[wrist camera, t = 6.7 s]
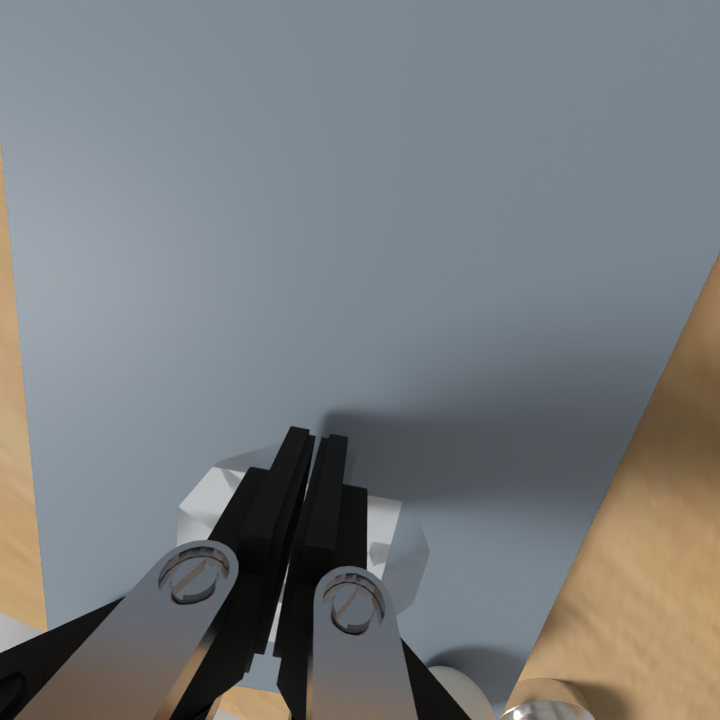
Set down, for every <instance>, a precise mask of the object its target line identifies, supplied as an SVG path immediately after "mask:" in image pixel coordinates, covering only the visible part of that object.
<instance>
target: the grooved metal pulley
mask: <svg viewBox="0 0 720 720" xmlns="http://www.w3.org/2000/svg"><path fill="white" fill-rule="evenodd" d="M499 720H595V719H594V717H593V714H592V712H591V710H590V708H589V706H588V704H587V702H586V700H585V698H584V696H583V695H582V694H581V692H580V691H579V690H577V689H576V688H575V687H573V686H572V685H570V684H568V683H565V682H563V681H559V680H555V679H548V678H533V679H526V680H522V681H518V682H517V683H516V685H515V687H514V689H513V691H512V693H511V695H510V698H509V700H508V702H507V704H506V706H505V708H504V710H503V712H502V715H501V717H500V719H499Z"/></svg>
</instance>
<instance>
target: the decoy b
mask: <svg viewBox="0 0 720 720" xmlns="http://www.w3.org/2000/svg"><path fill="white" fill-rule="evenodd" d="M428 669H429V671H430V672H431V673H432V674H433V675H434V676H435V677H436V679H437V680H438V681H439V682H440V683H441V684H442V686H443V687H444V688H445V689H446V690H447V691H448V693H449V694H450V695H451V696H452V697H453V698H454V700H455V701H456V702H457V703H458V704H459V705H460V707H461V708H462V709H463V710H464V711H465V712H466V714H467V715H468V716H469V717H470V718H471V719H472V720H497V719H496V716H495V714H494V712H493V709H492V707H491V705H490V703H489V701H488V700H487V698H486V696H485V695H484V693H483V692H482V691H481V689H480V688H479V687H478V686H477V685H476V684H475V683H474V681H473V680H471V679H470V678H469V677H468V676H466V675H465V674H464V673H462V672H460V671H458V670H456V669H454V668H451V667H446V666H434V667H430V668H428Z"/></svg>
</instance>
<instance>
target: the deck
mask: <svg viewBox="0 0 720 720" xmlns="http://www.w3.org/2000/svg"><path fill="white" fill-rule="evenodd" d="M0 144H1V155H2V165H3V175H4V185H5V196H6V206H7V216H8V227H9V237H10V247H11V257H12V268H13V278H14V288H15V298H16V309H17V319H18V329H19V339H20V350H21V360H22V370H23V381H24V391H25V401H26V411H27V422H28V432H29V442H30V452H31V463H32V473H33V483H34V493H35V504H36V514H37V524H38V534H39V545H40V555H41V565H42V576H43V586H44V596H45V606H46V617H47V627H48V631H50V630H52V629H54V628H56V627H59V626H61V625H63V624H65V623H67V622H70V621H72V620H74V619H76V618H78V617H81V616H83V615H85V614H87V613H89V612H92V611H94V610H96V609H98V608H100V607H103V606H105V605H107V604H109V603H111V602H114V601H116V600H118V599H120V598H122V597H124V596H127V594H128V593H129V592H130V591H131V590H132V589H133V588H134V587H135V586H136V585H137V583H138V582H139V581H140V580H141V579H142V578H143V577H144V576H145V575H146V574H147V572H148V571H149V570H150V569H151V568H152V567H153V566H154V565H155V564H156V563H157V562H158V560H160V559H161V558H162V557H163V556H164V555H165V554H167V553H168V552H169V551H171V550H172V549H174V548H176V547H178V546H180V545H182V544H185V543H188V542H192V541H197V540H207V539H208V537H209V535H210V534H211V532H212V530H213V528H214V527H215V525H216V523H217V522H218V520H219V518H220V516H221V515H222V513H223V511H224V510H225V508H226V506H227V504H228V503H229V501H230V499H231V498H232V496H233V494H234V492H235V491H236V489H237V487H238V486H239V484H240V482H241V481H242V479H243V477H244V475H245V474H246V472H247V470H248V469H249V468H250V467H251V466H252V467H257V468H263V469H268V470H270V468H271V466H272V464H273V462H274V460H275V457H276V455H277V453H278V451H279V449H280V447H281V445H282V443H283V441H284V439H285V437H286V434H287V432H288V430H289V428H290V426H295V427H300V428H305V429H310V432H309V435H314V436H316V439H315V444H314V450H313V455H312V461H311V466H310V471H309V477H308V482H307V488H306V492H307V489H308V485H309V481H310V478H311V474H312V470H313V467H314V463H315V459H316V456H317V452H318V448H319V445H320V441H321V438H322V437H324V438H329V436H330V434H336V435H341V436H346V437H348V444H347V453H346V461H345V469H344V477H343V484H347V485H352V486H357V487H362V488H367V490H368V515H367V571H369V572H371V573H373V574H374V575H375V576H376V577H377V578H378V579H380V580H381V581H382V582H383V584H384V585H385V587H386V588H387V589H388V591H389V593H390V596H391V599H392V602H393V605H394V610H395V615H396V619H397V624H398V629H399V633H400V637H401V638H402V639H403V640H404V641H405V643H406V644H407V645H408V646H409V647H410V648H411V650H412V651H413V652H414V653H415V654H416V655H417V657H418V658H419V659H420V660H421V661H422V662H423V664H424V665H425V666H426V667H427V668H430V667H434V666H446V667H451V668H454V669H456V670H458V671H460V672H462V673H464V674H465V675H466V676H468V677H469V678H470V679H471V680H473V681H474V683H475V684H476V685H477V686H478V687H479V688H480V689H481V691H482V692H483V693H484V695H485V696H486V698H487V700H488V701H489V703H490V705H491V707H492V709H493V712H494V714H495V716H496V719H497V720H499V719H500V717H501V715H502V712H503V710H504V708H505V706H506V704H507V702H508V700H509V698H510V695H511V693H512V691H513V689H514V687H515V685H516V683H517V681H518V678H519V676H520V674H521V672H522V670H523V668H524V666H525V664H526V662H527V659H528V657H529V655H530V653H531V651H532V649H533V647H534V645H535V642H536V640H537V638H538V636H539V634H540V632H541V630H542V628H543V625H544V623H545V621H546V619H547V617H548V615H549V613H550V611H551V609H552V606H553V604H554V602H555V600H556V598H557V596H558V594H559V592H560V589H561V587H562V585H563V583H564V581H565V579H566V577H567V575H568V572H569V570H570V568H571V566H572V564H573V562H574V560H575V558H576V556H577V553H578V551H579V549H580V547H581V545H582V543H583V541H584V539H585V536H586V534H587V532H588V530H589V528H590V526H591V524H592V522H593V519H594V517H595V515H596V513H597V511H598V509H599V507H600V505H601V503H602V500H603V498H604V496H605V494H606V492H607V490H608V488H609V486H610V483H611V481H612V479H613V477H614V475H615V473H616V471H617V469H618V466H619V464H620V462H621V460H622V458H623V456H624V454H625V452H626V450H627V447H628V445H629V443H630V441H631V439H632V437H633V435H634V433H635V430H636V428H637V426H638V424H639V422H640V420H641V418H642V416H643V413H644V411H645V409H646V407H647V405H648V403H649V401H650V399H651V396H652V394H653V392H654V390H655V388H656V386H657V384H658V382H659V380H660V377H661V375H662V373H663V371H664V369H665V367H666V365H667V363H668V360H669V358H670V356H671V354H672V352H673V350H674V348H675V346H676V343H677V341H678V339H679V337H680V335H681V333H682V331H683V329H684V327H685V324H686V322H687V320H688V318H689V316H690V314H691V312H692V310H693V307H694V305H695V303H696V301H697V299H698V297H699V295H700V293H701V290H702V288H703V286H704V284H705V282H706V280H707V278H708V276H709V274H710V271H711V269H712V267H713V265H714V263H715V261H716V259H717V257H718V254H719V252H720V0H0ZM305 496H306V493H305ZM304 500H305V498H304ZM284 588H285V584H284V583H283V587H282V591H281V595H280V598H279V602H278V606H277V610H276V613H275V617H274V621H273V625H272V628H271V632H270V636H269V640H268V643H267V647H266V651H265V654H264V655H261V654H254V658H253V661H252V664H251V668H250V671H249V673H244V677H243V679H242V680H241V681H239V682H238V683H237V684H235V685H234V686H240V687H246V688H252V689H258V690H264V691H270V692H276V693H280V691H279V689H278V687H277V685H276V684H277V679H278V673H279V668H280V663H281V658H278V657H272V655H273V649H274V644H275V638H276V633H277V627H278V621H279V616H280V610H281V605H282V599H283V594H284Z"/></svg>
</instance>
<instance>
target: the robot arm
mask: <svg viewBox="0 0 720 720" xmlns="http://www.w3.org/2000/svg"><path fill="white" fill-rule="evenodd" d="M309 432H310V429H305V428H300V427H295V426H290V428H289V430H288V432H287V434H286V437H285V439H284V441H283V443H282V445H281V447H280V449H279V451H278V453H277V455H276V457H275V460H274V462H273V464H272V466H271V468H270V470H268V469H263V468H257V467H252V466H251V467H250V468H249V469H248V470H247V472H246V474H245V475H244V477H243V479H242V481H241V482H240V484H239V486H238V487H237V489H236V491H235V492H234V494H233V496H232V498H231V499H230V501H229V503H228V504H227V506H226V508H225V510H224V511H223V513H222V515H221V516H220V518H219V520H218V522H217V523H216V525H215V527H214V528H213V530H212V532H211V534H210V535H209V537H208V539H207V540H197V541H192V542H188V543H185V544H182V545H180V546H178V547H176V548H174V549H172V550H171V551H169V552H168V553H167V554H165V555H164V556H163V557H162V558H161V559H160V560H158V562H157V563H156V564H155V565H154V566H153V567H152V568H151V569H150V570H149V571H148V572H147V574H146V575H145V576H144V577H143V578H142V579H141V580H140V581H139V582H138V583H137V585H136V586H135V587H134V588H133V589H132V590H131V591H130V592H129V593H128V594H127V596H124V597H122V598H120V599H118V600H116V601H114V602H111V603H109V604H107V605H105V606H103V607H100V608H98V609H96V610H94V611H92V612H89V613H87V614H85V615H83V616H81V617H78V618H76V619H74V620H72V621H70V622H67V623H65V624H63V625H61V626H59V627H56V628H54V629H52V630H50V631H48V632H46V633H43V634H41V635H39V636H37V637H35V638H32V639H30V640H28V641H26V642H24V643H21V644H19V645H17V646H15V647H13V648H10V649H8V650H6V651H4V652H2V653H0V720H213V718H214V716H215V714H216V712H217V709H218V707H219V704H220V701H221V698H222V695H223V693H225V692H226V691H227V690H229V689H230V688H231V687H233V686H234V685H235V684H237V683H238V682H239V681H241V680H242V679H243V677H244V673H249V671H250V668H251V664H252V661H253V658H254V654H261V655H264V654H265V651H266V647H267V643H268V640H269V636H270V632H271V628H272V625H273V621H274V617H275V613H276V610H277V606H278V602H279V598H280V595H281V591H282V587H283V583H284V580H285V576H286V572H287V568H288V572H287V577H286V583H285V588H284V594H283V599H282V605H281V610H280V616H279V621H278V627H277V633H276V638H275V644H274V649H273V655H272V657H278V658H281V663H280V668H279V673H278V679H277V684H276V685H277V687H278V689H279V691H280V693H281V695H282V696H283V698H284V700H285V702H286V704H287V706H288V708H289V710H290V712H289V717H288V720H472V719H471V718H470V717H469V716H468V715H467V714H466V712H465V711H464V710H463V709H462V708H461V707H460V705H459V704H458V703H457V702H456V701H455V700H454V698H453V697H452V696H451V695H450V694H449V693H448V691H447V690H446V689H445V688H444V687H443V686H442V684H441V683H440V682H439V681H438V680H437V679H436V677H435V676H434V675H433V674H432V673H431V672H430V671H429V669H428V668H427V667H426V666H425V665H424V664H423V662H422V661H421V660H420V659H419V658H418V657H417V655H416V654H415V653H414V652H413V651H412V650H411V648H410V647H409V646H408V645H407V644H406V643H405V641H404V640H403V639H402V638H401V637H400V633H399V629H398V624H397V619H396V615H395V610H394V605H393V602H392V599H391V596H390V593H389V591H388V589H387V588H386V587H385V585H384V584H383V582H382V581H381V580H380V579H378V578H377V577H376V576H375V575H374V574H373V573H371V572H369V571H367V515H368V490H367V488H362V487H357V486H352V485H347V484H343V477H344V469H345V461H346V453H347V444H348V437H346V436H341V435H336V434H330V436H329V438H324V437H322V438H321V441H320V445H319V448H318V452H317V456H316V459H315V463H314V467H313V470H312V474H311V478H310V481H309V485H308V489H307V492H306V488H307V482H308V477H309V471H310V466H311V461H312V455H313V450H314V444H315V439H316V436H314V435H309ZM305 493H306V496H305ZM304 498H305V500H304ZM288 565H289V566H288Z"/></svg>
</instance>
